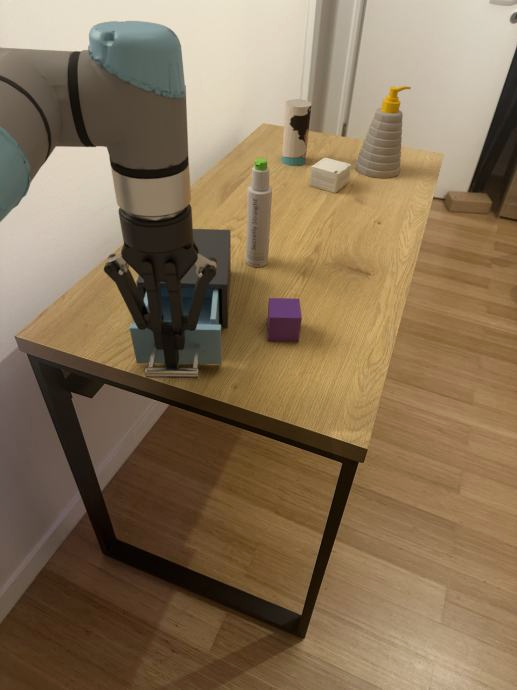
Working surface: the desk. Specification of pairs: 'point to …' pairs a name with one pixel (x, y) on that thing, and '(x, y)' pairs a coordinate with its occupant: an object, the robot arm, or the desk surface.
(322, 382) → the desk surface
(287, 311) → the purple cube
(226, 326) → the grey square box housing
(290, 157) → the cup
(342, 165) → the small box
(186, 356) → the drawer
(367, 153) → the soap bottle
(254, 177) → the bottle
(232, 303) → the desk surface
